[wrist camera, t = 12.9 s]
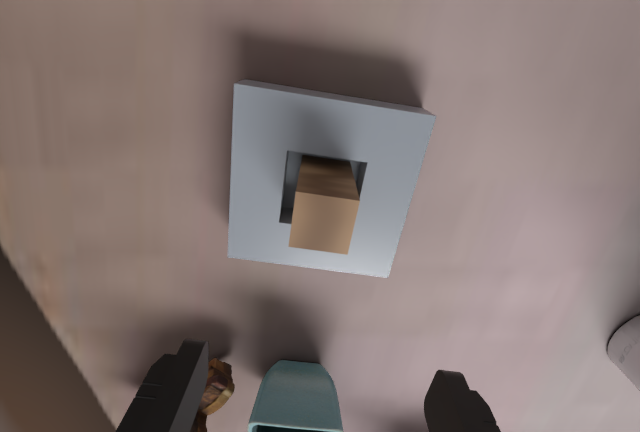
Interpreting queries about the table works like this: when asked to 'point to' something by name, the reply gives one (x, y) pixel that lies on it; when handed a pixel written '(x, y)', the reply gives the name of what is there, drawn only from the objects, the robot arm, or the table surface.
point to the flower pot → (296, 400)
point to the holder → (327, 142)
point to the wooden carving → (214, 393)
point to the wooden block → (324, 206)
